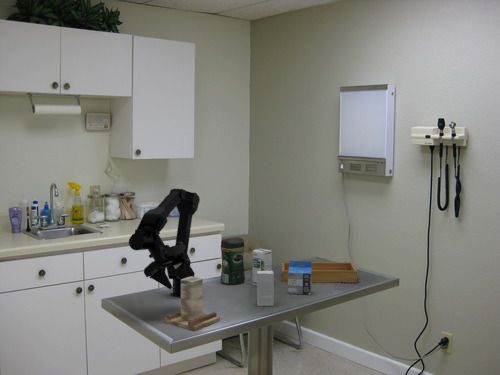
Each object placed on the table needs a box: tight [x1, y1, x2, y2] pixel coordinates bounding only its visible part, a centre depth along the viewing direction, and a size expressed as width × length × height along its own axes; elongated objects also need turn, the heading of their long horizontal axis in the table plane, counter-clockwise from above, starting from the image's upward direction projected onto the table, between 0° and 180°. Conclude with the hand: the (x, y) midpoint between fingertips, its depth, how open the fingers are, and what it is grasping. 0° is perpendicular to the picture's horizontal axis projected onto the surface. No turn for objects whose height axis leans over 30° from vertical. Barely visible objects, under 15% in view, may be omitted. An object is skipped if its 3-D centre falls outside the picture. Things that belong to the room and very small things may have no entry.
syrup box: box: [251, 248, 273, 287], centre depth 235 cm, size 6×6×14 cm
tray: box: [281, 261, 358, 284], centre depth 247 cm, size 31×15×6 cm, turn 87°
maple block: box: [180, 276, 204, 321], centre depth 190 cm, size 5×5×13 cm
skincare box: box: [256, 270, 275, 307], centre depth 209 cm, size 6×4×12 cm
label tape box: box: [287, 260, 312, 296], centre depth 224 cm, size 9×4×12 cm, turn 80°
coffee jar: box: [220, 236, 246, 286], centre depth 239 cm, size 10×8×19 cm
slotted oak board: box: [163, 310, 221, 332], centre depth 191 cm, size 14×12×2 cm
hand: (179, 286), depth 195 cm, fingers open, 9 cm apart
